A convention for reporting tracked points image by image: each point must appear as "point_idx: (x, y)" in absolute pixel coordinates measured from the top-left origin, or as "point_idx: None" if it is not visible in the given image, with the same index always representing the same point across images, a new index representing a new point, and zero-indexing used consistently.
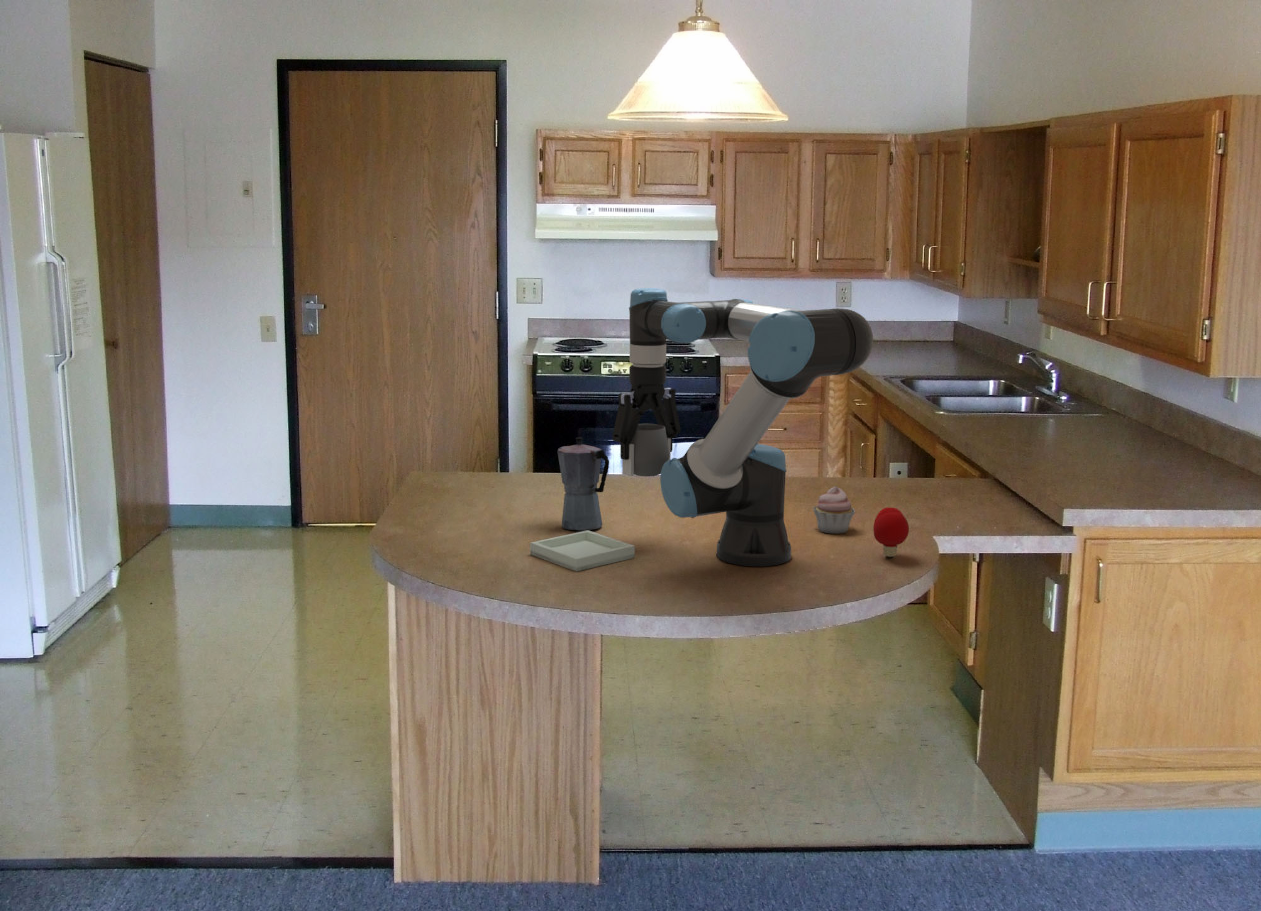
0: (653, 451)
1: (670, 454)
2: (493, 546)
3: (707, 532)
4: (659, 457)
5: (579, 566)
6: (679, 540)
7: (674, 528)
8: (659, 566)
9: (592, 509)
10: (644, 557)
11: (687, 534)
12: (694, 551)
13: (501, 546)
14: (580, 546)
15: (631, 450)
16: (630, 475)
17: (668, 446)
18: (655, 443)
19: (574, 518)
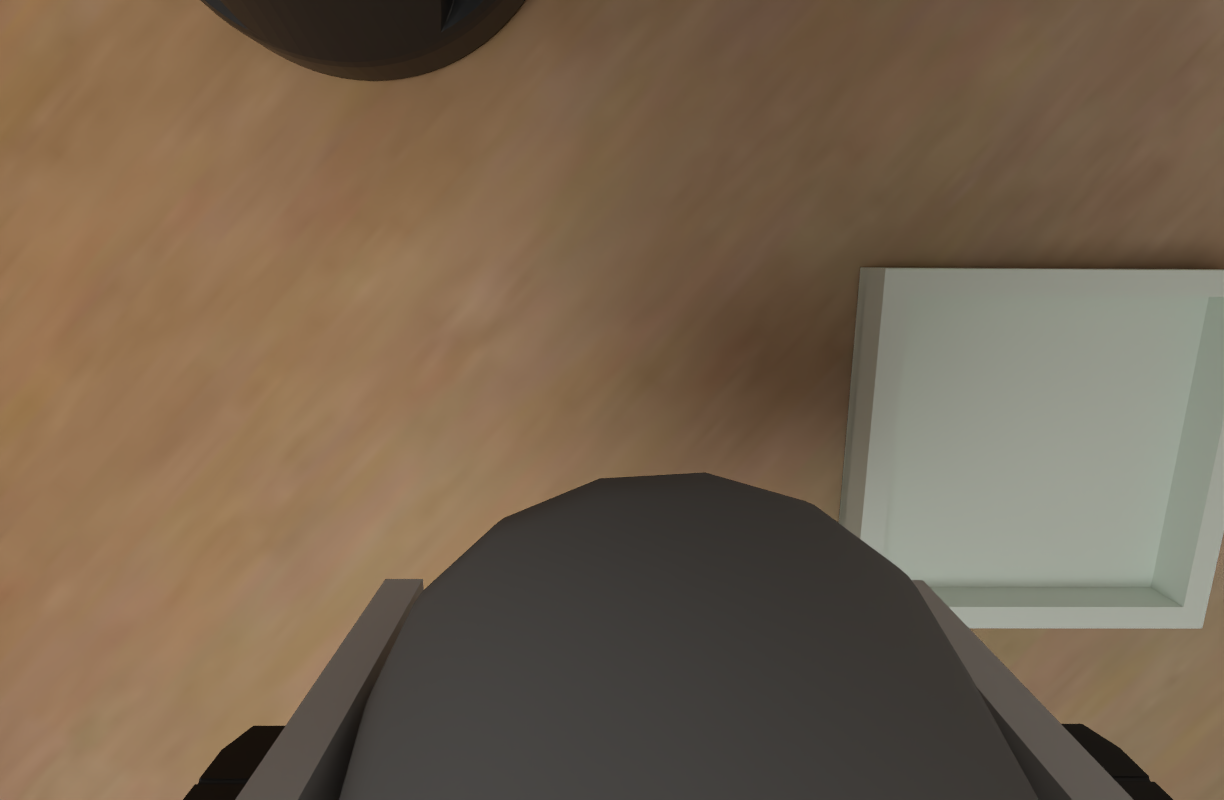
0: (835, 584)
1: (319, 676)
2: (1167, 772)
3: (268, 374)
4: (725, 493)
5: (1221, 269)
6: (480, 355)
7: (361, 525)
8: (876, 68)
9: None
10: (819, 241)
11: (377, 409)
12: (552, 156)
13: (1145, 754)
14: (964, 523)
15: (1118, 791)
16: (925, 587)
17: (308, 761)
18: (829, 674)
19: None
